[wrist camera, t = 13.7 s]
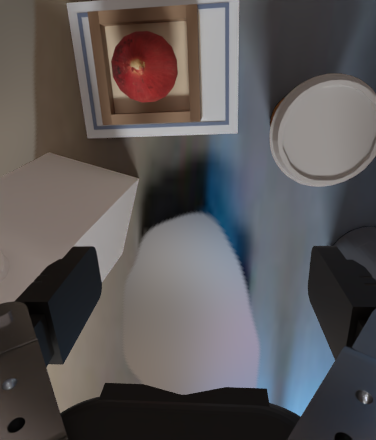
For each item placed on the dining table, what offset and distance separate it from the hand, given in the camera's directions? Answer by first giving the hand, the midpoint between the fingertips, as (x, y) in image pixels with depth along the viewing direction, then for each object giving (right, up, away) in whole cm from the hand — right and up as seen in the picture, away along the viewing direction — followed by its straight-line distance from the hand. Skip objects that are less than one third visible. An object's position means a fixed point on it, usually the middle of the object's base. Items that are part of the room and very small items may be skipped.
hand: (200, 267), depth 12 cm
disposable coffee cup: (+12, +13, +26) cm, 32 cm away
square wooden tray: (-4, +18, +24) cm, 31 cm away
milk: (-14, +4, +33) cm, 36 cm away
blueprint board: (-4, +19, +25) cm, 32 cm away
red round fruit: (-4, +17, +21) cm, 27 cm away
